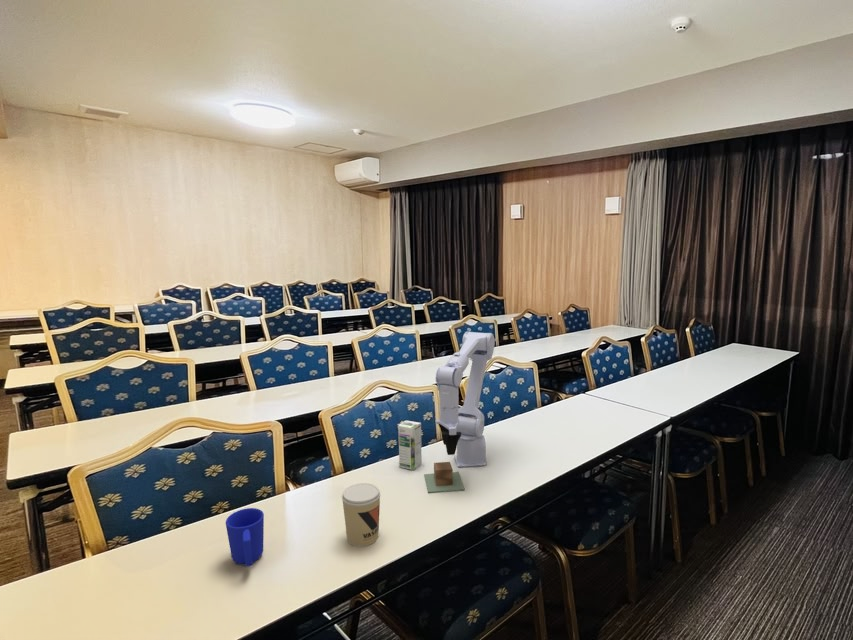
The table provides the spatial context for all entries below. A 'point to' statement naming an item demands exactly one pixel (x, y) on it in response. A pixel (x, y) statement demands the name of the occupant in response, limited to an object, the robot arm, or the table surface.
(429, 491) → the green mat
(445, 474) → the walnut block
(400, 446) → the syrup box
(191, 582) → the table surface
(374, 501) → the beige lidded canister
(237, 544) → the mug
